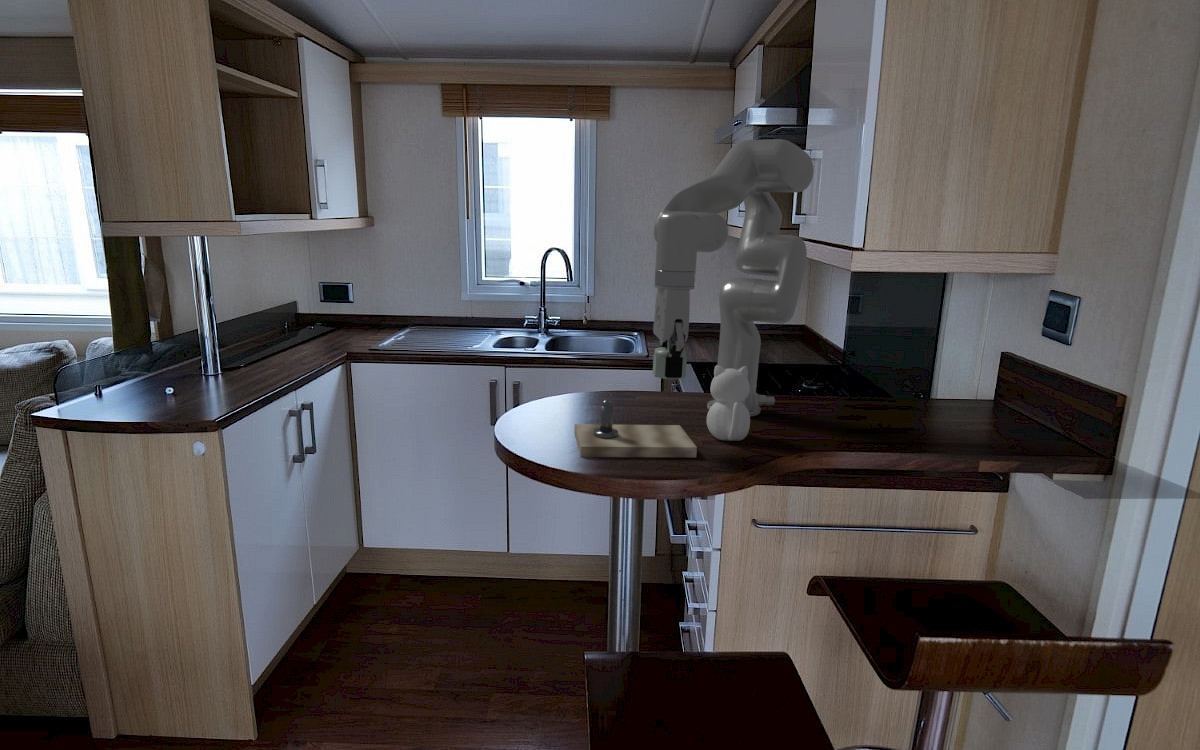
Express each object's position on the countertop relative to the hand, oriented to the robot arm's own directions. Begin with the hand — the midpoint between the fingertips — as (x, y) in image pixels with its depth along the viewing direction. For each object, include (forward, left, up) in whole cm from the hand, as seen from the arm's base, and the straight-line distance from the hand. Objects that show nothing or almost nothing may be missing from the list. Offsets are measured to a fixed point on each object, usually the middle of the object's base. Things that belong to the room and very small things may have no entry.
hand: (669, 372), depth 129 cm
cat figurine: (-15, -5, -15) cm, 21 cm away
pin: (+12, 0, -13) cm, 17 cm away
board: (+6, 0, -15) cm, 16 cm away
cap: (0, 0, -1) cm, 1 cm away
